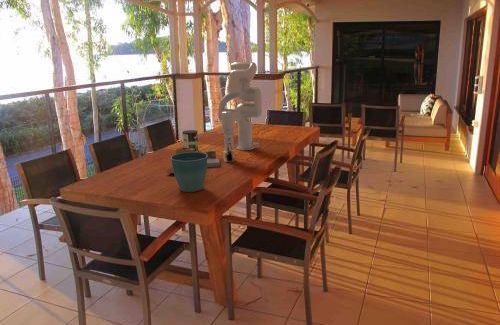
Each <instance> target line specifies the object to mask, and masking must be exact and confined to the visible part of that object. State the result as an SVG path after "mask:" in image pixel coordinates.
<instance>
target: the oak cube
mask: <svg viewBox="0 0 500 325" xmlns="http://www.w3.org/2000/svg"><path fill="white" fill-rule="evenodd" d="M223 161H224V163H230V162H231V163H232V162H235V151H234V150H233V149H232V161H227V150H226V149H225V150H223Z"/></svg>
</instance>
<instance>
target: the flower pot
mask: <svg viewBox="0 0 500 325" xmlns="http://www.w3.org/2000/svg"><path fill="white" fill-rule="evenodd" d="M207 157H208V155H207V154H206V152H200V151H198V152H186V153H179V154H176V153H175V154H173V155H171V157H170V160H171V167H173V172H174V174H173V175H174V177H175V180H176V182H177V185H178V189H179V190H180V192H183V193H193V192H194V193H195V192H198V191H201V190H203V189H204V183H205V181H206V176H207V172H208V167H207Z"/></svg>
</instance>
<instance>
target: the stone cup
mask: <svg viewBox="0 0 500 325" xmlns="http://www.w3.org/2000/svg"><path fill="white" fill-rule="evenodd" d="M186 152H194V150H193V149H192V148H184V147H181V146H180V147H179V146H178V147H176V149H175V155H176V154H179V153H186ZM166 173H167V174H173V175H174V172H173V166H171V167H168V168H167V169H166Z"/></svg>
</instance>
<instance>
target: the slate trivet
mask: <svg viewBox="0 0 500 325" xmlns="http://www.w3.org/2000/svg"><path fill="white" fill-rule="evenodd" d="M220 164H221V162H220V159H219V158H217V157H216V159H207V168H210V167H211V168H214V167H216V168H217V167H221V165H220Z"/></svg>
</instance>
